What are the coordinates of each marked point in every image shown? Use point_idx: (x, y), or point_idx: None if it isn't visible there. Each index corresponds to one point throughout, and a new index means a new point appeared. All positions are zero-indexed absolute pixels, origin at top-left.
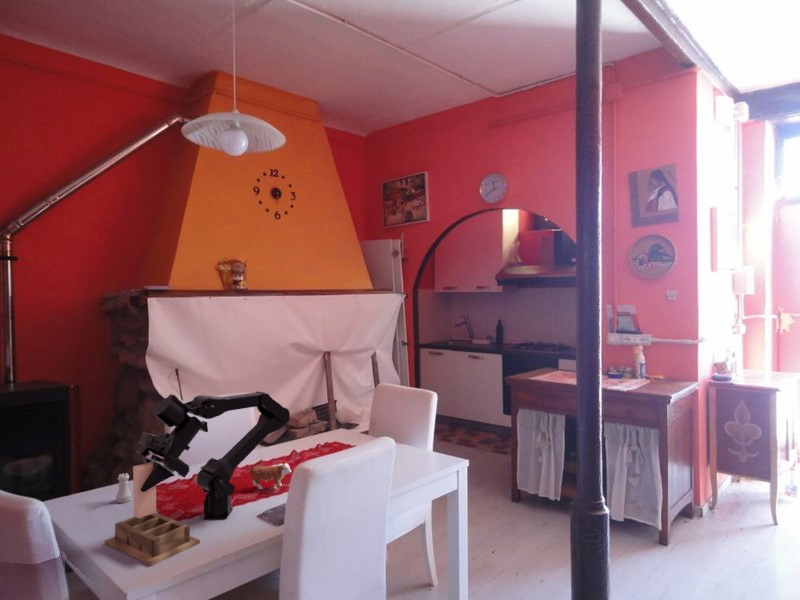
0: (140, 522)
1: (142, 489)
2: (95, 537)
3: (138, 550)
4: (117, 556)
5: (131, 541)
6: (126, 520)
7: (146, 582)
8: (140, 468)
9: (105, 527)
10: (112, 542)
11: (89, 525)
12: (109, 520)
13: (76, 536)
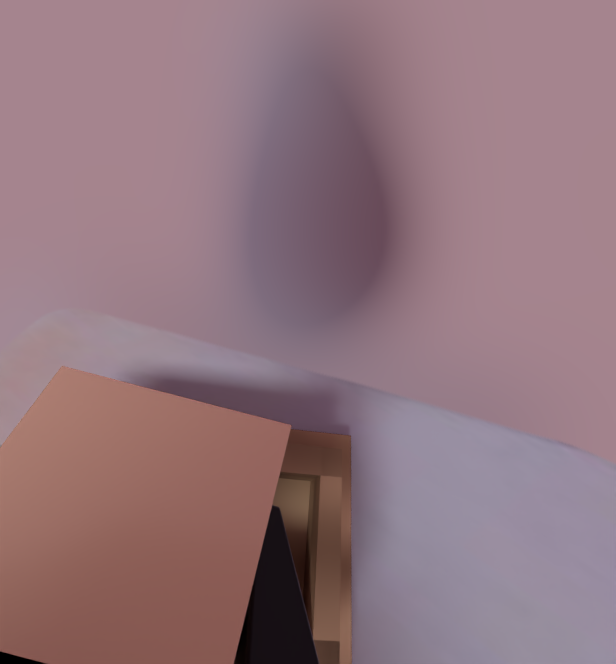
0: (310, 574)
1: None
2: (420, 454)
3: None
4: (235, 402)
5: None
6: (331, 500)
7: (28, 341)
8: (20, 440)
9: (479, 529)
10: (315, 439)
11: (537, 508)
12: (540, 589)
13: (472, 430)
